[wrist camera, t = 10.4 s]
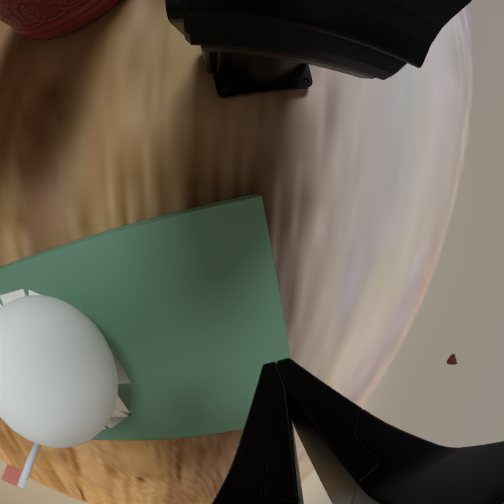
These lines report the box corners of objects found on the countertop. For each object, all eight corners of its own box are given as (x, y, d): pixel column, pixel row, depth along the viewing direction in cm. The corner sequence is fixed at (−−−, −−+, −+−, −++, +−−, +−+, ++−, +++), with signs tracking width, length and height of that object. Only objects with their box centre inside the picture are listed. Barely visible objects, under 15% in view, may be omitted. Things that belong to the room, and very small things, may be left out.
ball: (124, 311, 12) (-39, 264, 8) (119, 491, 9) (-39, 438, 5) (125, 315, 20) (18, 288, 17) (117, 429, 17) (11, 401, 13)
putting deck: (256, 193, 18) (327, 232, 7) (294, 401, 25) (331, 501, 13) (-39, 283, 16) (-105, 333, 5) (41, 422, 22) (14, 489, 11)
